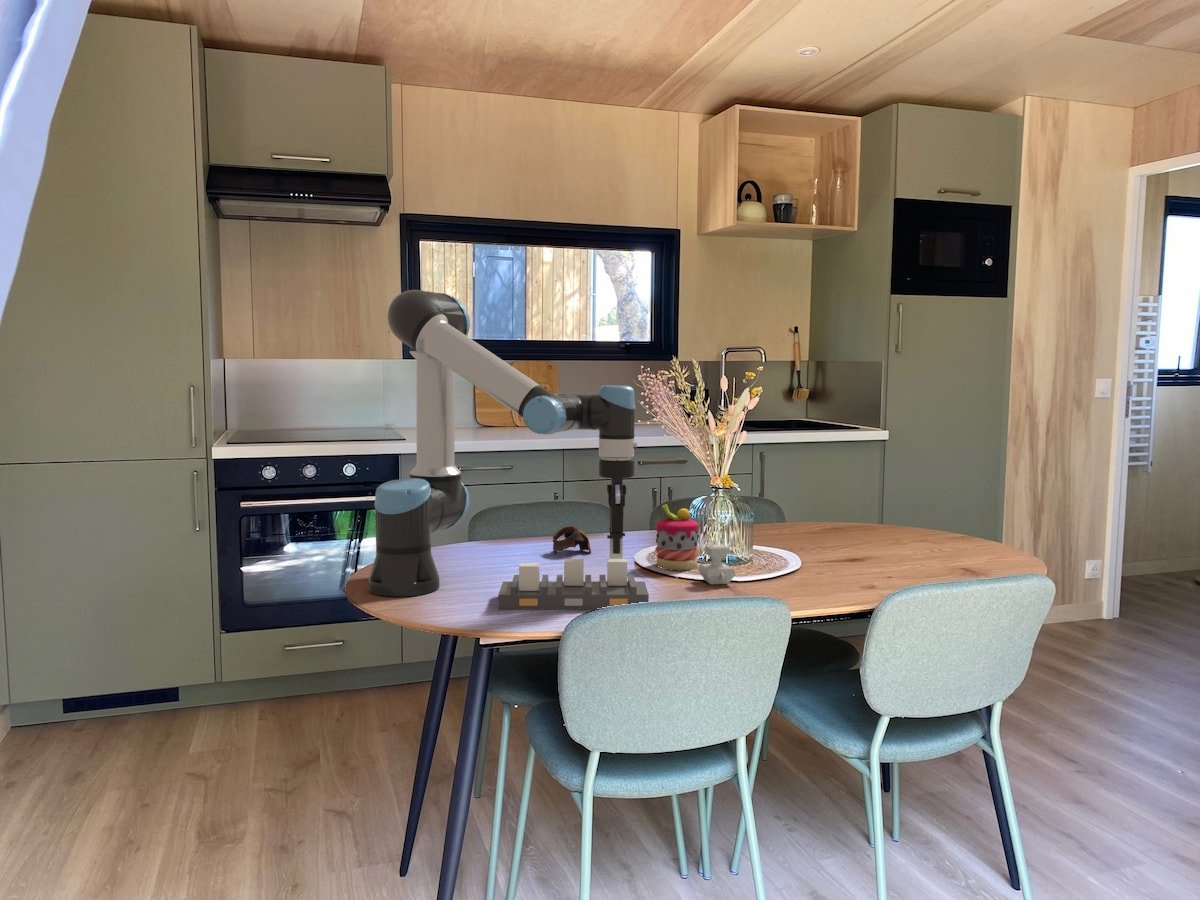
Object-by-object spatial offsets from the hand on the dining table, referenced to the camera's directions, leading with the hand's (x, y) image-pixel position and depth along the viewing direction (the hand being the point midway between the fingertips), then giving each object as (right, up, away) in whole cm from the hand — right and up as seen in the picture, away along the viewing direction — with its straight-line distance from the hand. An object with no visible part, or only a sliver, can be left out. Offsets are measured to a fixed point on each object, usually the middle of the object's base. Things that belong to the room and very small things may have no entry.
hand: (616, 567), depth 191 cm
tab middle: (-9, -3, -6) cm, 11 cm away
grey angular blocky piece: (+23, -5, +9) cm, 25 cm away
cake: (+15, -3, +26) cm, 30 cm away
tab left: (-18, -3, -10) cm, 21 cm away
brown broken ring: (-11, -2, +41) cm, 43 cm away
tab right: (0, -3, -5) cm, 6 cm away
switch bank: (-9, -6, -8) cm, 13 cm away
